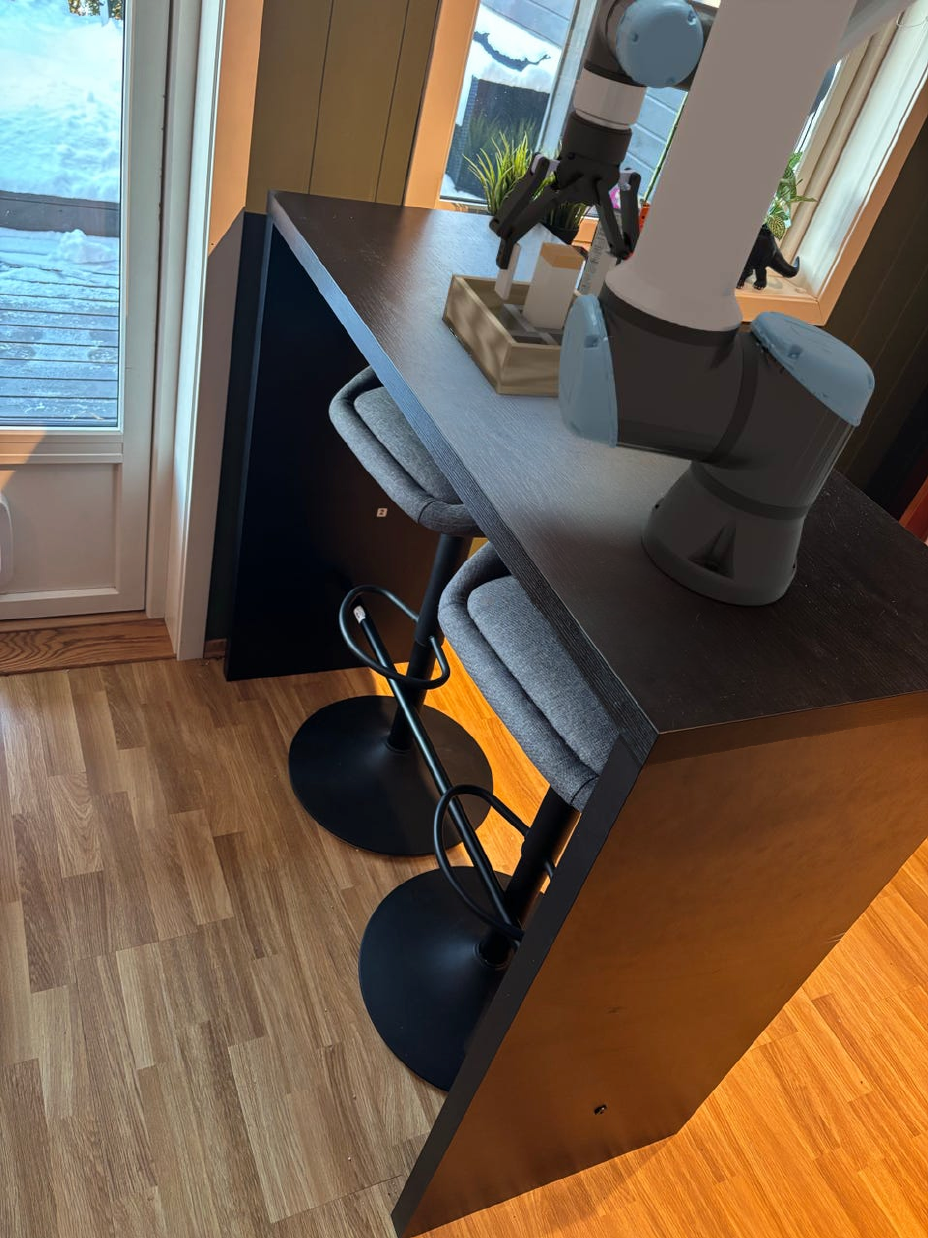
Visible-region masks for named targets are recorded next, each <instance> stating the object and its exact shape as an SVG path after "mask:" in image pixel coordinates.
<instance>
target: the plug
mask: <svg viewBox="0 0 928 1238" xmlns="http://www.w3.org/2000/svg"><path fill="white" fill-rule="evenodd" d="M584 262H585V257H584V256H583V255H582V254H581V253H580V252H579V251H577V250H576V249H575V248H574V247H573V246H572V245H570V244H563V243H557V242H548V241H542V243H541V246H540V251H539V253H538V257H537V261H536V264H535V268H534V271H533V274H532V277H531V281H530V282H531V284H530V287H529V291H528V294H527V298H526V301H525V304H524V308H523V311H522V315H523V316H524V318H525V319H526V320H527V321H528V322H529V323H530V324H531V325H532V327H541V328H553V329H562V327H563V324H564V320H565V317H566V314H567V311H568V308H569V305H570V302H571V299H572V296H573V293H574V289H576V286H577V284H578V280H579V277H580V275H581V274H580V273H581V270H582V269H583V268H582V267H583V265H584Z"/></svg>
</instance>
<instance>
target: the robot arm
mask: <svg viewBox="0 0 928 1238" xmlns="http://www.w3.org/2000/svg"><path fill="white" fill-rule="evenodd" d="M917 2H918V0H720V3H719V6H718V7H716V6H713V5H711V4H710V5H709V4H706V3H703V2H699V1H697V0H601V1H600V4H599V9H598V12H597V16H596V18H595V22H594V27H593V31H592V34H591V37H590V41H589V44H588V49H587V52H586V56H585V58H584V59H585V60H584V63H583V66H582V70H581V73H580V77H579V80H578V83H577V88H576V90H575V95H574V98H573V101H572V104H573V106H574V108H575V109H576V110H573V111H572V112H570V113H569V115H568V118H567V121H566V125H565V128H564V131H563V136H562V139H561V146H560V152H559V154H558V156H557V157H556V158H555V159H554V158H551V157H547V156H545V155H544V154H542V153H541V152H539V151H535V152H534V153H533V154H532V156H531V159H530V162H529V164H528V167H527V170H526V172H525V173H524V174H523V176H522V177H521V178H520V180H519V181H518V183H517V184H516V186H515V187H514V188H513V190H511V192H510V194H509V195H508V197H506V199H505V200H504V202H503V203H502V204H501V206H500V207H499V209H498V210H497V211H496V213H495V214H494V216H493V217H492V218H491V220H490V221H489V224H488V227H489V229H490V230H491V231H492V232H493V233H494V234H495V235H496V236H497V237H498V238H500V242H499V244H498V246H499V247H498V249H497V252H496V253H497V254H496V257H495V265H496V267H498V268H499V269H498V273H497V278H496V279H497V280H496V284H495V288H494V290H495V291H496V293H497V294H498V295H499V296H500V297H501V298H502V299H508V296H509V292H510V289H511V285H512V281H514V277H515V274H516V270H517V266H518V262H519V259H520V256H521V251H522V249H523V246H522V245H521V244H520V243H519V241H520V240H521V239H522V238H523V237H525V236H526V235H527V234H528V233H529V232H530V231H531V230H532V229H534V228H535V226H536V225H538V224H539V223H540V222H541V221H542V220H544V219H545V218H546V216H548V215H549V214H550V213H551V212H553V210H554V209H556V208H558V207H561V206H562V205H564V204H565V203H566V202H567V203H568V204H570V205H581V204H582V205H584V206H586V207H591V208H592V207H593V206H594V207H595V210H596V213H597V216H598V220H599V219H600V222H601V225H602V228H603V231H604V234H605V236H606V239H607V242H608V245H609V248H610V252H609V251H608V250H602V253H601V256H600V259H599V262H598V265H597V268H596V272H595V275H594V278H593V281H592V284H591V287H590V290H589V293H588V295H581V296H579V297H577V298H576V300H575V301H574V303H573V307H572V308H571V309H570V311H569V314H568V317H567V321H566V325H565V329H564V334H563V339H562V346H561V353H560V363H559V382H558V392H559V397H558V403H559V404H558V405H559V411H560V415H561V419H562V422H563V424H564V426H565V429H567V431H569V433H570V434H572V436H574V437H576V438H579V439H583V440H586V441H591V442H594V443H598V444H602V445H606V447H607V448H610V449H615V448H619V449H625V450H631V451H636V452H642V453H646V454H653V455H657V456H664V457H667V458H668V457H670V458H674V459H679V460H685V461H691V462H690V464H689V466H688V468H687V469H686V470H685V471H684V472H683V474H681V475H680V477H678V479H677V480H676V481H675V482H674V483H673V484H672V486H671V487H670V488H669V489H668V491H667V492H665V494H664V497H662V498H660V499H659V500H657V501H656V502H655V504H654V505H653V506H652V507H651V508H650V511H649V512H648V514H647V517H646V520H645V522H644V524H643V526H642V529H641V534H640V536H641V543H642V545H643V547H644V550H645V552H646V553H647V555H648V556H649V558H650V559H651V560H652V561H653V563H655V564H656V565H657V567H659V569H660V570H662V572H664V573H665V574H667V575H668V576H669V577H670V578H672V579H673V580H674V581H676V582H678V583H679V584H680V585H682V586H684V587H686V588H688V589H690V590H692V591H694V592H695V593H698V594H701V595H702V596H705V597H707V598H710V599H713V600H716V601H719V602H723V603H727V604H732V605H739V606H749V607H750V606H763V605H768V604H771V603H774V602H776V601H778V600H779V599H780V598H781V597H783V596H784V595H785V593H786V591H787V589H788V587H789V586H790V584H791V582H792V580H793V579H794V577H795V575H796V571H797V565H798V559H797V553H798V549H799V546H800V542H801V539H802V534H803V529H804V523H805V522H804V521H805V519H806V516H807V515H808V513H809V510H810V509H811V507H812V505H813V503H814V501H815V500H816V498H817V496H818V495H819V493H820V491H821V489H822V488H823V485H824V484H825V483H826V480H827V479H828V476H829V474H830V473H831V471H832V469H834V466H835V464H836V463H837V461H838V459H839V457H840V455H841V453H842V451H843V449H844V448H845V446H846V444H847V442H848V441H849V439H850V437H851V436H852V434H853V432H854V429H855V428H856V427H858V426H859V425H860V424H861V422H862V421H861V420H862V418H863V415H864V413H865V410H866V408H867V406H868V404H869V401H870V400H871V397H872V395H873V392H874V390H875V389H874V388H875V385H876V384H875V377H874V372H873V370H872V368H871V367H870V365H869V364H868V363H867V361H865V360H864V358H862V356H861V355H859V354H858V353H857V352H856V351H855V350H853V349H852V348H851V347H850V346H849V345H847V344H845V343H844V342H843V341H841V340H840V339H838V338H837V337H834V336H833V335H831V334H830V333H828V332H827V331H825V330H823V329H821V328H820V327H817V326H815V325H813V324H812V323H809V322H807V321H804V320H802V319H800V318H797V317H795V316H792V315H789V314H786V313H782V312H779V311H773V310H771V311H762V312H760V313H758V314H757V315H756V317H755V318H754V319H752V320H751V322H750V325H749V330H747V329H746V330H745V329H740V326H741V324H742V323H743V322H742V321H743V320H744V315H743V312H742V310H741V307H740V305H739V302H738V300H737V298H736V293H735V291H736V288H737V285H738V284H739V280H740V278H741V276H742V274H743V272H744V268H745V266H746V264H747V263H748V259H749V257H750V255H751V252H752V250H753V247H754V246H755V243H756V240H757V238H758V236H759V233H760V230H761V229H762V226H763V223H764V222H765V219H766V218H767V217H766V216H767V214H768V212H769V210H770V208H771V205H772V202H773V200H774V199H775V195H776V193H777V191H778V188H779V186H780V184H781V181H782V179H783V177H784V174H785V173H786V170H787V167H788V165H789V162H790V161H791V158H792V155H793V153H794V150H795V149H796V146H797V144H798V141H799V138H800V137H801V135H802V132H803V129H804V127H805V126H806V125H805V124H806V122H807V119H808V118H809V117H810V116H812V115H813V113H815V112H816V110H817V109H818V108H819V106H820V103H821V102H822V101H823V100H825V98H826V96H827V95H828V92H829V90H830V87H831V85H832V82H833V80H834V78H835V73H836V70H837V69H836V68H837V64H838V63H839V62H840V61H841V60H843V59H844V58H846V57H847V56H849V54H851V53H852V52H853V51H854V50H856V49H858V47H860V46H861V45H862V44H863V43H865V42H866V41H867V40H869V39H870V38H871V37H873V36H874V35H875V34H876V33H878V32H879V31H880V30H882V29H884V27H885V26H887V25H888V24H889V23H891V22H892V21H893V20H894V19H896V18H897V17H898V16H900V15H901V14H902V13H903V12H905V11H906V10H907V9H909V7H911V6H912V5H914V4H915V3H917ZM648 88H652V89H665V88H671V89H675V90H679V91H682V92H685V93H688V95H687V98H686V100H685V103H684V107H683V108H682V112H681V114H680V117H679V120H678V122H677V127H676V129H675V132H674V135H673V138H672V141H671V144H670V146H669V150H668V151H667V155H666V158H665V161H664V164H663V166H662V169H661V173H660V176H659V178H658V180H657V181H658V182H657V184H656V187H655V190H654V192H653V195H652V198H651V200H650V201H651V202H650V204H649V207H648V210H647V212H646V215H645V219H644V221H643V224H642V227H641V230H640V216H639V212H638V195H639V194H638V193H639V189H640V185H641V182H642V176H641V174H640V173H638V172H637V171H635V170H634V169H633V168H631V167H629V166H628V167H626V168H624V170H620V169H621V165H622V163H623V162H624V161H625V158H626V156H627V152H628V150H629V146H630V143H631V141H632V137H633V133H634V132H633V130H632V128H631V126H634V125H635V124H637V122H638V120H639V115H640V112H641V109H642V106H643V104H644V103H643V102H644V99H645V96H646V93H647V90H648ZM551 173H553V176H554V178H553V179H552V180H551V181H550V182H549V183H548V184H546V185H545V187H543V191H541V193H540V194H539V195H537V197H536V198H535V199H533V198H534V197H535V195H536V193H537V191H539V189H540V188H541V186H543V183H544V181H545V179H546V178H549V177H550V176H551ZM616 185H617V187H618V189H620V207H621V222H622V235H621V232H620V229H619V226H618V223H617V220H616V217H615V214H614V211H613V204H612V201H611V198H610V191H612V190H613V189H614V188H615V187H616ZM532 199H533V200H532ZM531 200H532V201H531ZM530 201H531V202H530ZM622 236H623V238H622ZM630 254H632V255H631V256H630ZM622 260H625V261H624V262H623V263H621V261H622Z"/></svg>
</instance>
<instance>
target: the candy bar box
mask: <svg viewBox="0 0 928 1238" xmlns="http://www.w3.org/2000/svg"><path fill="white" fill-rule="evenodd" d="M609 195H610V198H611V201H612V204H613V211H614V214H615V217H616V220H617V223H618V226H619V229H620V232H621V235H622V222H621V207H620V188H619V187H618V188H617V187H613V188H612V190H611V193H609ZM645 201H646V197H644V196H641V195H639V194H638V212H639V217H640V216H641V212H642V210H643V206H644V203H645ZM622 238H623V236H622ZM602 250H608V251H609V252H610V248H609V245H608V242H607V239H606V236H605V234H604V231H603V228H602V225H601V222H600V219H599V218H598V220H597V223H596V227H595V229H594V232H593V236H592V240H591V243H590V247H589V249H588V252H587V256H586V259H585V261H584V262H585V263H584V267H583V268H582V269H583V270H582V272H581V276H580V279H579V283H578V285H577V289H576V290H577V291H578V292H579V293H580V294H581V295H588V293H589V290H590V287H591V284H592V281H593V278H594V275H595V272H596V268H597V265H598V262H599V259H600V256H601V253H602ZM624 261H626V260H622V261H621V263H623V262H624Z"/></svg>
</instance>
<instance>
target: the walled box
mask: <svg viewBox="0 0 928 1238" xmlns="http://www.w3.org/2000/svg"><path fill="white" fill-rule="evenodd" d="M496 280H497V278H495V277H494V278H492V277H484V276H483V277H482V276H472V275H466V274H465V275H464V274H457V273H456V274H455V273H452V275H451V279H450V283H449V287H448V290H447V291H448V293H447V297H446V300H445V304H444V308H443V309H444V310H443V311H442V312H443V313H442V317H441V319H442V318H443V319H442V321H443V320H444V321H445V322H446V323H445V322H444V321H443V322H444V323H445V324H447V325H448V326H449V327H450V328H451V329H452V331H453V332H454V334H455V335H456V336H457V338H458V339H459V340H460V342H461V343H462V344H463V346H464V347H465V348H464V347H463V346H462V347H463V348H464V350H465V349H466V350H467V351H466V350H465V351H466V353H467V354H468V353H469V354H470V355H471V356H470V355H469V354H468V355H469V356H470V358H471V357H472V358H471V359H472V360H473V362H474V361H475V362H474V363H475V364H476V365H477V368H479V370H480V371H481V373H482V374H483V375H484V376H485V378H486V379H487V380H488V382H489V383H490V384H491V386H492V387H493V388H494V390H495V391H496V393H497V394H499V395H512V396H513V395H516V396H533V397H553V398H554V397H555V398H559V392H558V382H559V363H560V353H561V346H562V339H563V334H564V329H565V325H566V321H567V317H568V314H569V311H570V309H571V308H572V307H573V303H574V301H575V300H576V298H577V297H579V296H581V294H580V293H579V292H578V291H577V289H576V288H575V289H574V293H573V296H572V299H571V302H570V305H569V308H568V311H567V314H566V317H565V320H564V324H563V327H562V329H553V328H541V327H532V325H531V324H530V323H529V322H528V321H527V320H526V319H525V318H524V316H523V315H522V311H523V308H524V304H525V301H526V298H527V294H528V291H529V287H530V284H531V281H530V282H529V281H521V280H513V281H512V285H511V289H510V292H509V296H508V299H502V298H501V297H500V296H499V295H498V294H497V293H496V291H495V290H494V288H495V284H496ZM447 325H446V326H447ZM448 326H447V327H448ZM449 327H448V328H449ZM452 331H451V332H452ZM454 334H453V335H454ZM455 335H454V336H455ZM457 338H456V339H457ZM458 339H457V340H458ZM460 342H459V343H460ZM461 343H460V344H461Z"/></svg>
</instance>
